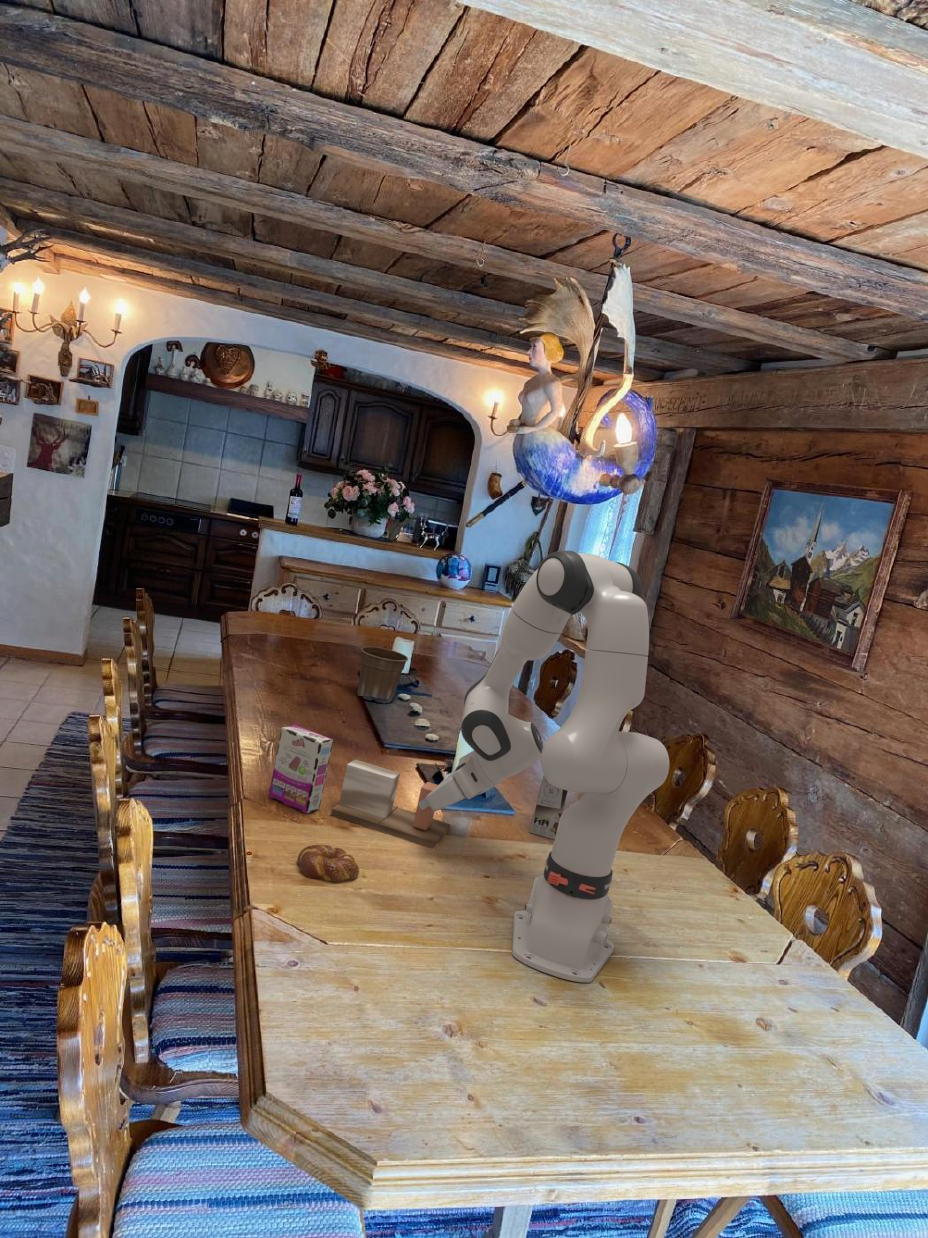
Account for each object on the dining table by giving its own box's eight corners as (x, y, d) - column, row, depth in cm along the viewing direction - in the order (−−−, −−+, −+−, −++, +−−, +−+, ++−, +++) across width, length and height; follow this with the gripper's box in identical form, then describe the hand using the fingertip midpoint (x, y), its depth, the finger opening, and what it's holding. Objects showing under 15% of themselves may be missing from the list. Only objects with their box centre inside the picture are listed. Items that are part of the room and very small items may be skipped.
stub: (425, 830, 186) (434, 791, 185) (412, 826, 187) (421, 787, 185) (431, 823, 190) (440, 785, 189) (419, 819, 191) (427, 781, 190)
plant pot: (408, 703, 294) (417, 658, 292) (379, 708, 280) (389, 661, 278) (371, 689, 302) (380, 645, 300) (341, 693, 288) (351, 647, 286)
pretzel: (367, 870, 166) (371, 852, 166) (344, 892, 156) (348, 873, 155) (312, 850, 169) (315, 833, 169) (285, 871, 159) (289, 852, 158)
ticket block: (433, 848, 182) (444, 801, 180) (330, 815, 187) (340, 768, 186) (449, 830, 193) (459, 785, 192) (352, 799, 199) (361, 755, 197)
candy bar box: (320, 809, 189) (335, 739, 187) (306, 815, 185) (321, 743, 182) (281, 792, 194) (294, 723, 192) (266, 797, 190) (280, 726, 187)
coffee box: (555, 840, 201) (571, 775, 199) (528, 833, 202) (544, 768, 200) (558, 827, 210) (574, 765, 208) (533, 820, 211) (548, 758, 209)
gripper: (480, 748, 194) (431, 777, 198) (456, 771, 175) (402, 802, 178) (495, 772, 194) (445, 800, 198) (472, 798, 174) (417, 829, 178)
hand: (424, 802), depth 188 cm, fingers open, 4 cm apart
